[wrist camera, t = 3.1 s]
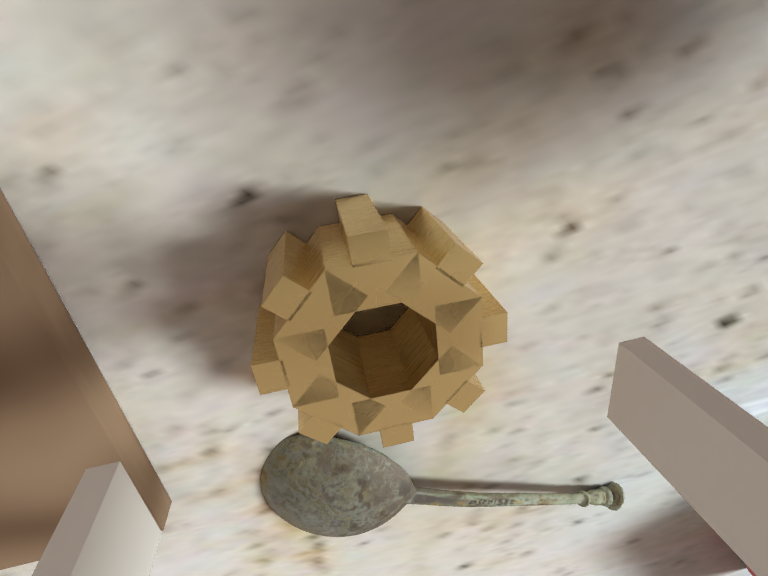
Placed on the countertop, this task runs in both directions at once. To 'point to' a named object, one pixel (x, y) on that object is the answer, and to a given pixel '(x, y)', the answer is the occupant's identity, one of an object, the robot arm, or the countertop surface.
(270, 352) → the brass gear
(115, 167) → the countertop surface
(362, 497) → the soupspoon
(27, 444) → the gear board
